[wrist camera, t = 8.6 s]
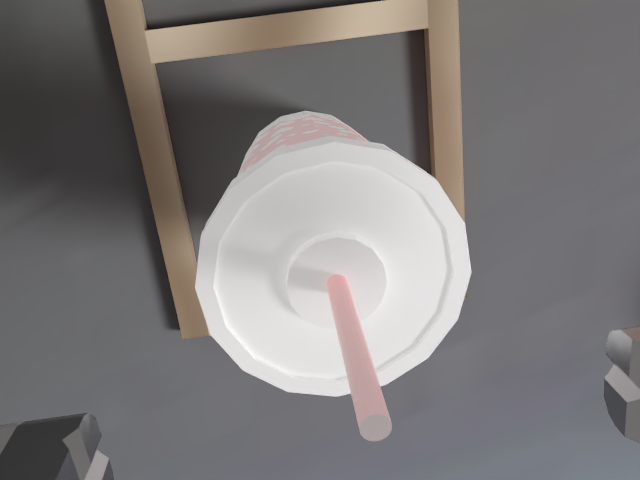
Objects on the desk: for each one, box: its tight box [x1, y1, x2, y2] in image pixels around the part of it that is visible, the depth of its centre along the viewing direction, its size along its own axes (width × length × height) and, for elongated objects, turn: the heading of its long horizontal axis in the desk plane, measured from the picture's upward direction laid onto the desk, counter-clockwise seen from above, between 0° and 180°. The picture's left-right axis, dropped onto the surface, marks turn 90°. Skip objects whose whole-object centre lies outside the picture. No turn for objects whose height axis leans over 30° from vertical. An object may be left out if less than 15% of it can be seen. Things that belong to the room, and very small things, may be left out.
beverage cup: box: [195, 111, 471, 441], centre depth 15 cm, size 6×6×14 cm
